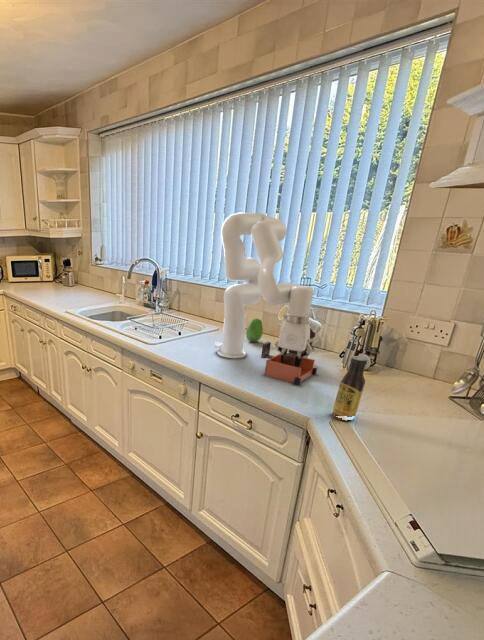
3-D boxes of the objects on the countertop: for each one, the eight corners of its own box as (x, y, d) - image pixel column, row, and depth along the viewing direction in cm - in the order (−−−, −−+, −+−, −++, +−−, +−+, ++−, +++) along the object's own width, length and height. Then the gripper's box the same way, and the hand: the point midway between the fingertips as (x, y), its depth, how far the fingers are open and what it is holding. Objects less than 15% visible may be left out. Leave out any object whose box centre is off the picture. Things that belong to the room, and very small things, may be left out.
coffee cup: (286, 365, 167) (292, 330, 161) (283, 357, 176) (288, 325, 170) (312, 366, 164) (318, 331, 159) (307, 359, 173) (313, 326, 168)
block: (282, 365, 154) (283, 355, 153) (287, 363, 157) (288, 352, 155) (293, 368, 151) (295, 357, 150) (298, 365, 154) (300, 354, 152)
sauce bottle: (327, 415, 124) (340, 355, 116) (341, 411, 126) (355, 352, 118) (345, 424, 118) (360, 362, 110) (360, 420, 120) (376, 359, 112)
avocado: (262, 344, 195) (265, 320, 191) (245, 343, 197) (248, 319, 192) (260, 339, 202) (263, 316, 198) (244, 339, 204) (247, 316, 200)
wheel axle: (293, 384, 147) (294, 377, 146) (310, 373, 157) (312, 367, 156) (298, 386, 146) (300, 379, 145) (316, 374, 156) (317, 368, 155)
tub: (253, 372, 159) (257, 346, 155) (269, 364, 168) (272, 339, 163) (297, 383, 147) (302, 355, 143) (312, 374, 156) (317, 348, 151)
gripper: (271, 318, 151) (265, 363, 158) (317, 324, 139) (308, 373, 146) (280, 314, 155) (273, 358, 162) (325, 321, 144) (316, 368, 151)
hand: (290, 365), depth 154 cm, fingers closed on block, 4 cm apart
